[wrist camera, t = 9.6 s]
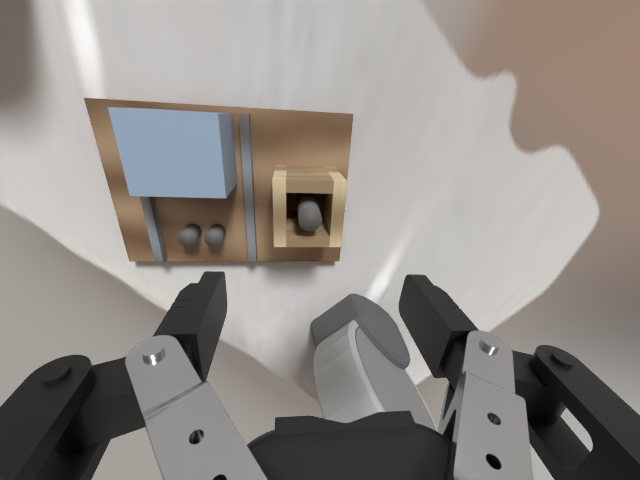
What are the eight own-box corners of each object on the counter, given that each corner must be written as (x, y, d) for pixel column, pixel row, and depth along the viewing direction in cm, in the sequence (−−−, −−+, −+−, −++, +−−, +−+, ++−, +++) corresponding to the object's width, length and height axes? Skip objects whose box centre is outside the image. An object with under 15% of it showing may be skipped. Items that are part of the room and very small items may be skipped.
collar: (276, 164, 25) (272, 178, 20) (335, 166, 26) (347, 181, 21) (277, 220, 28) (273, 247, 22) (331, 221, 28) (341, 247, 23)
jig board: (96, 98, 23) (-1, 92, 15) (349, 114, 25) (375, 114, 18) (136, 254, 29) (82, 304, 22) (337, 254, 32) (351, 299, 24)
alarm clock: (291, 321, 35) (292, 502, 19) (353, 276, 33) (414, 435, 17) (362, 380, 42) (408, 554, 25) (418, 345, 40) (508, 510, 23)
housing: (144, 108, 22) (107, 107, 18) (232, 113, 23) (218, 113, 19) (158, 181, 25) (129, 196, 20) (237, 183, 26) (225, 198, 21)
